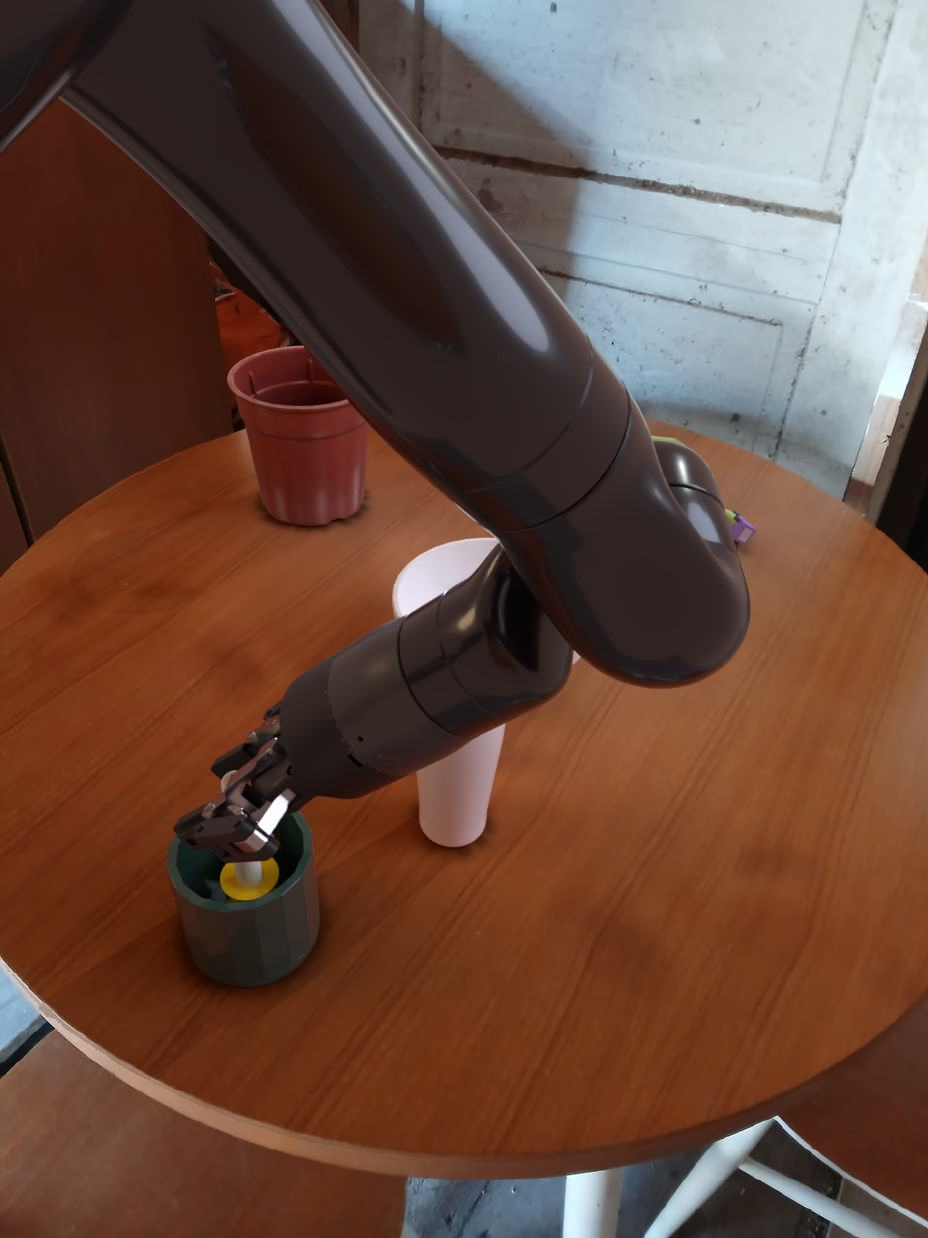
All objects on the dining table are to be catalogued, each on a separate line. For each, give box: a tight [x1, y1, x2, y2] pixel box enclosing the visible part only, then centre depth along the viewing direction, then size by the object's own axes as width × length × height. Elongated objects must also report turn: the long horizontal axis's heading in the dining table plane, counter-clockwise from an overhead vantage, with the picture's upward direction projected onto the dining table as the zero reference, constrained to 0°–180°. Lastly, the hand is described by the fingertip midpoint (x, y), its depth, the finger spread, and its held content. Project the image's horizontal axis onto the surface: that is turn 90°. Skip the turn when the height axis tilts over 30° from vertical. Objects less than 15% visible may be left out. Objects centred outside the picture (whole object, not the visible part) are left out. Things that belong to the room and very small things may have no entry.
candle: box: [220, 771, 279, 904], centre depth 59 cm, size 5×5×16 cm
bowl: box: [391, 537, 581, 666], centre depth 86 cm, size 20×20×7 cm
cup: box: [165, 810, 321, 988], centre depth 62 cm, size 9×9×9 cm
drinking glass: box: [415, 723, 507, 848], centre depth 68 cm, size 7×7×15 cm
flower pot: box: [226, 345, 370, 527], centre depth 104 cm, size 16×16×16 cm
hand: (205, 804), depth 57 cm, fingers open, 4 cm apart
